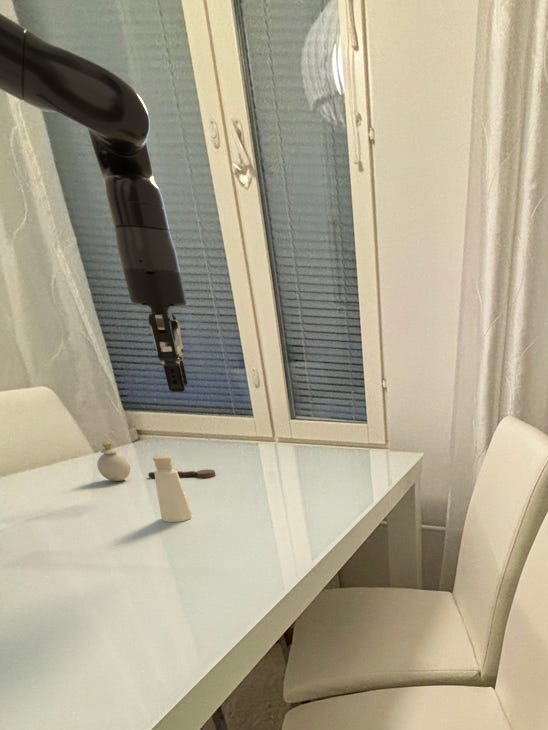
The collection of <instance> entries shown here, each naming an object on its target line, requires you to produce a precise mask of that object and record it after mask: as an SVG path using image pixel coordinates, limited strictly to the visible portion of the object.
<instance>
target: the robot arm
mask: <svg viewBox="0 0 548 730" xmlns="http://www.w3.org/2000/svg"><path fill="white" fill-rule="evenodd" d="M0 90H1V91H2V92H5V93H6V94H8V95H10V96H12V97H14V98H16V99H18V100H19V101H22V102H24V104H27V105H29V106H31V107H33V108H35V109H38V110H41V111H43V112H47V113H57V114H60V115H62V116H64V117H65V118H68V119H69V120H71V121H73V122H75V123H76V124H79V125H81V126H82V127H85V128H86V129H87V131H88V132H87V133H88V135H89V139H90V141H91V145H92V148H93V151H94V155H95V158H96V161H97V164H98V167H99V169H100V172H101V173H100V174H101V176H102V179H103V183H104V188H105V195H106V199H107V203H108V208H109V211H110V216H111V221H112V224H113V227H114V233H115V240H116V248H117V250H118V256H119V259H120V264H121V267H122V272H123V276H124V279H125V283H126V288H127V291H128V295H129V298H130V302H131V303H132V304H133V305H135V306H136V305H138V306H148V307H149V308H150V311H151V312H150V313H148V327H149V331H150V332H151V334H152V339H153V345H154V347H155V350H156V351H157V358H158V359H159V362H161V365H163V370H164V374H165V378H166V382H167V386H168V390H169V391H170V392H171V393H183V392H185V390H186V387H185V386H187V385H188V383H189V382H188V378H187V374H186V369H185V364H184V357H185V355H184V349H183V348H184V344H183V338H182V334H181V333H182V331H181V325H180V321H179V320H177V317H176V316H175V314H174V313H172V310H171V308H172V307H186V306H187V303H188V302H187V297H186V293H185V287H184V283H183V279H182V277H183V276H182V274H181V268H180V265H179V264H180V263H179V259H178V254H177V250H176V247H175V244H174V241H173V238H172V234H171V232H170V231H171V229H170V225H169V221H168V216H167V211H166V207H165V203H164V198H163V195H162V192H161V190H160V187H159V186H158V184H157V183H156V180H155V176H154V172H153V171H154V170H153V166H152V162H151V158H150V153H149V147H148V138H149V135H150V131H151V121H150V115H149V112H148V109H147V107H146V105H145V103H144V101H143V100H142V98H141V96H140V94H139V93H138V92H137V91H136V90H135V89H134V88H133V87H132V86H131V85H130V84H129V83H128V82H126V81H125V80H124V79H123V78H122V77H120V76H119V75H117V74H115V73H113V72H112V71H110V70H108V69H107V68H105V67H104V66H101V65H99V64H97V63H95V62H94V61H91V60H89V59H87V58H84V57H83V56H80V55H78V54H75V53H74V52H71V51H70V50H67V49H64V48H62V47H60V46H57V45H55V44H52V43H50V42H48V41H46V40H44V39H43V38H41V36H39V35H37V34H35V33H34V32H32V31H30V30H29V29H27V28H26V27H24V26H22V25H21V24H19V23H18V22H15V20H12V19H11V18H9V17H7V16H5V15H4V14H2V13H0Z"/></svg>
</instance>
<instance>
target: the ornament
mask: <svg viewBox="0 0 548 730" xmlns="http://www.w3.org/2000/svg"><path fill="white" fill-rule="evenodd" d="M105 436H106V438H107V439H108V438H109V441H104V442H101V445H102V447H103V448H102V450H100V451H99V452H100V453H102V455H100V456H99V458H98V460H97V463H96V465H97V469H98V472H99V473H100V475H101V476H103V478H105V479H107V480H109V481H112V482H121V481H124V480H126V479H127V478H128V477H129V475H130V473H131V465H130V462H129V461H128V460H127V458H126V457H125V456H123V455H122V454H120V453H117V452H118V451H119V450H118V449H116V448H115V447H113V446H112V439H111V437H110V436H108V434H107V432H105Z"/></svg>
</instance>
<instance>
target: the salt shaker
mask: <svg viewBox="0 0 548 730" xmlns="http://www.w3.org/2000/svg"><path fill="white" fill-rule="evenodd" d="M152 460H153V463H154V466H155V467H156V468H155V469H156V470H155V471H154V472H155V473H154V474H155V478H154V482H155V487H156V492H157V500H158V504H159V505H158V506H159V511H160V518H161V521H162V522H163V521H164V522H166V523H167V522H168V523H177V522H178V523H179V522H185V521H187V520H190V519H192V518H193V515H194V513H193V511H192V508H191V505H190V503H189V500H188V497H187V494H186V492H185V489H184V486H183V483H182V480H181V477H179V475H178V473H177V469H174V467H173V463H172V457H171V456H170V455H156V456H154V457H153V458H152Z"/></svg>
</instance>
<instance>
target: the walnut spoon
mask: <svg viewBox="0 0 548 730" xmlns="http://www.w3.org/2000/svg"><path fill="white" fill-rule="evenodd" d="M154 473H155V471H151V472H149V473H148V474H147V476H148V477H149V478H151V479H155V474H154ZM177 473H178V475H179V478H185V477H197V478H199V479H210V478H213V477H214V478H215V477H216V475H217V474H216V471H215V470H214V469H199V470H197V471H195V470H184V471H183V470H182V471H181V470H180V471H177Z"/></svg>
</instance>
